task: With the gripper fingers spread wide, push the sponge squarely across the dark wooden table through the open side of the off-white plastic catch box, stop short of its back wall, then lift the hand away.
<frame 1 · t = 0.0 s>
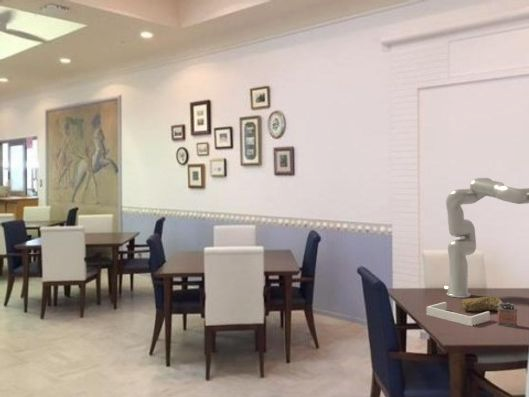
lighter: (507, 325, 231), on the table
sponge: (481, 311, 256), on the table
catch box: (459, 316, 245), on the table
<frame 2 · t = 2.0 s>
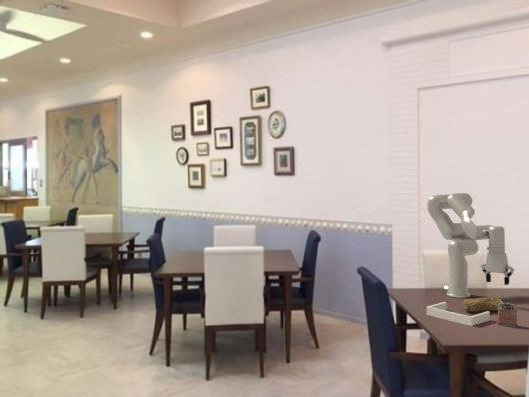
hand: (497, 283, 263), 12 cm above the table, tool pointing down, fingers open, 9 cm apart
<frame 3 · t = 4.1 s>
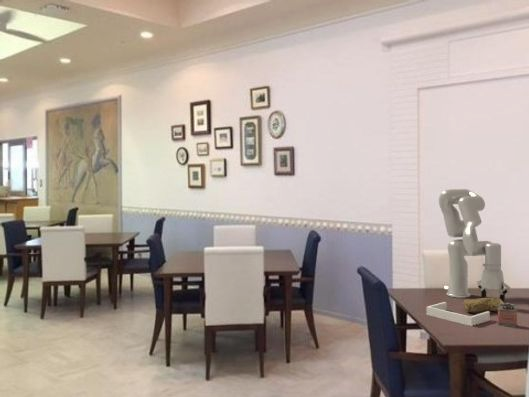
hand: (492, 300, 262), 3 cm above the table, tool pointing down, fingers open, 9 cm apart
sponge: (482, 312, 253), on the table, touching gripper
everything else where it was.
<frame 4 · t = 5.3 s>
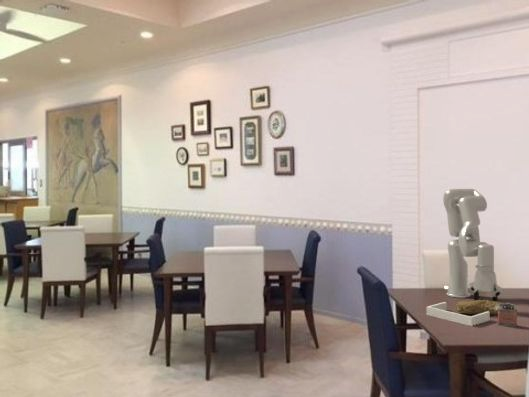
hand: (485, 302, 258), 3 cm above the table, tool pointing down, fingers open, 9 cm apart
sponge: (477, 314, 250), on the table, touching gripper
everything else where it was.
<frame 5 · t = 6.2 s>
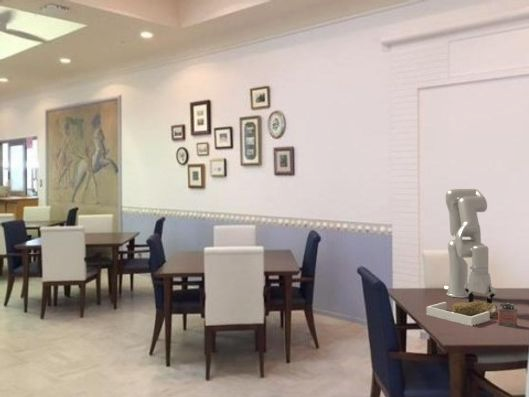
hand: (480, 304, 255), 3 cm above the table, tool pointing down, fingers open, 9 cm apart
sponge: (473, 316, 247), on the table, touching gripper
everything else where it was.
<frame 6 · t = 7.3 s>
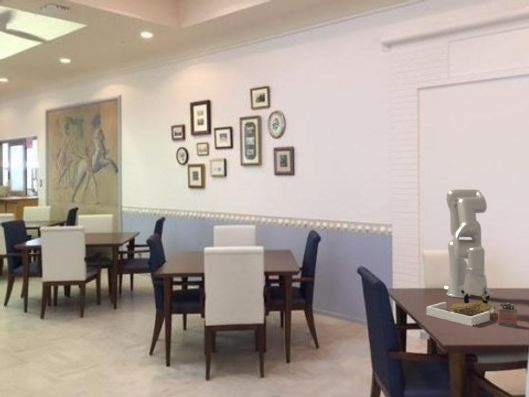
hand: (475, 305, 254), 3 cm above the table, tool pointing down, fingers open, 9 cm apart
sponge: (472, 317, 245), on the table, touching catch box, gripper
everything else where it was.
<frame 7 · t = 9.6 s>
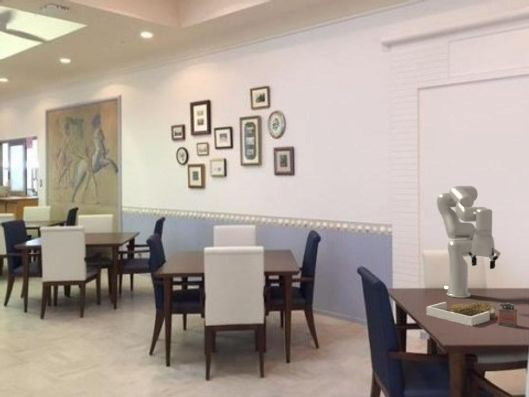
hand: (483, 267, 256), 22 cm above the table, tool pointing down, fingers open, 9 cm apart
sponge: (472, 317, 245), on the table, touching catch box
everything else where it was.
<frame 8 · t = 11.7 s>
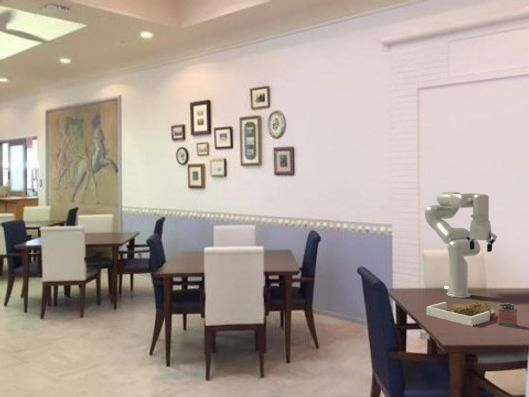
hand: (480, 250, 267), 28 cm above the table, tool pointing down, fingers open, 9 cm apart
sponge: (472, 317, 245), on the table
everything else where it was.
at the end: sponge inside the target area on the catch box (6.9 cm from its centre), point 0.0 cm above the catch box's base; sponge moved 14.0 cm from its start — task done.
